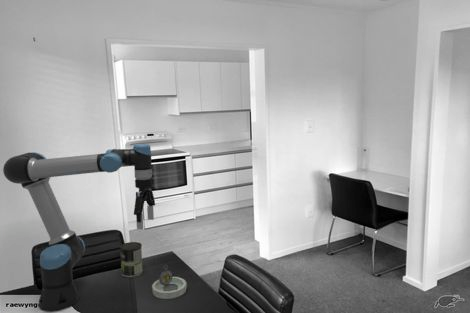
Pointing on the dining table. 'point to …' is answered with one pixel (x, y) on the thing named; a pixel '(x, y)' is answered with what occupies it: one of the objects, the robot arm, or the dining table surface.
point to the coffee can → (131, 259)
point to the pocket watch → (167, 280)
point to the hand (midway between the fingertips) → (145, 224)
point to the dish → (162, 294)
